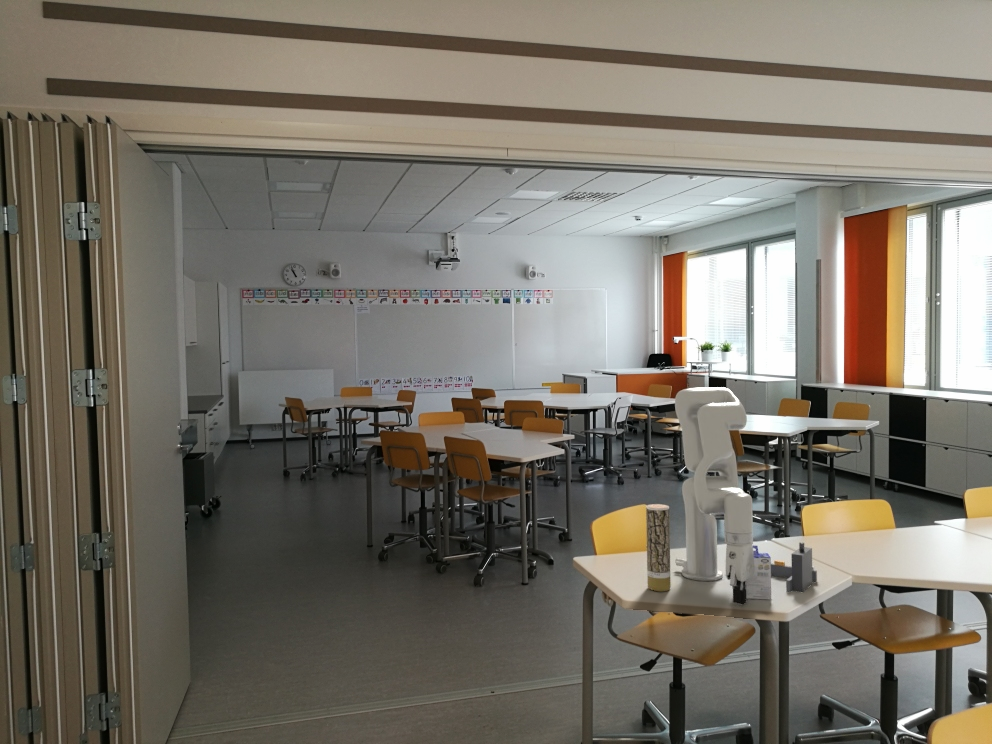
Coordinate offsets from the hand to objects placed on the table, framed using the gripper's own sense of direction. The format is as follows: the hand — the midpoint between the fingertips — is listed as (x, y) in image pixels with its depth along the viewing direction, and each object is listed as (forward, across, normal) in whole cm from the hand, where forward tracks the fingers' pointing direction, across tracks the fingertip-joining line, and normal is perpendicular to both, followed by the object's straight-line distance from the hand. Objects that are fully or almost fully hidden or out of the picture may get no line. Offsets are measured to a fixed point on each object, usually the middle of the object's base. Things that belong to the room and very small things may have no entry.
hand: (739, 602), depth 199 cm
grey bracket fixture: (+1, +27, -2) cm, 27 cm away
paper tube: (+1, +1, +25) cm, 25 cm away
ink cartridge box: (+1, +10, 0) cm, 10 cm away
